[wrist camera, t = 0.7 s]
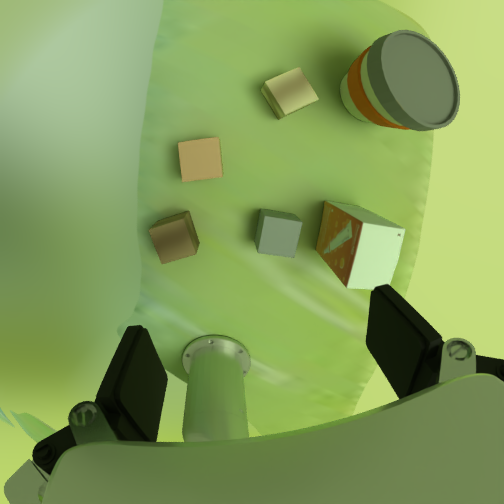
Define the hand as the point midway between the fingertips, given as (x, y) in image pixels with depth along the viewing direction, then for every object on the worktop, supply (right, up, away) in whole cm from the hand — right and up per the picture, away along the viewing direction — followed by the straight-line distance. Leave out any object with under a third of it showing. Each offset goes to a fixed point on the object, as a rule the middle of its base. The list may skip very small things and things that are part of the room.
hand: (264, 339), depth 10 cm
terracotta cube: (-7, +16, +26) cm, 31 cm away
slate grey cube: (+3, +7, +30) cm, 31 cm away
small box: (+13, +7, +31) cm, 34 cm away
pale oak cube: (+4, +25, +23) cm, 34 cm away
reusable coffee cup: (+17, +28, +24) cm, 40 cm away
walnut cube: (-11, +6, +29) cm, 32 cm away
